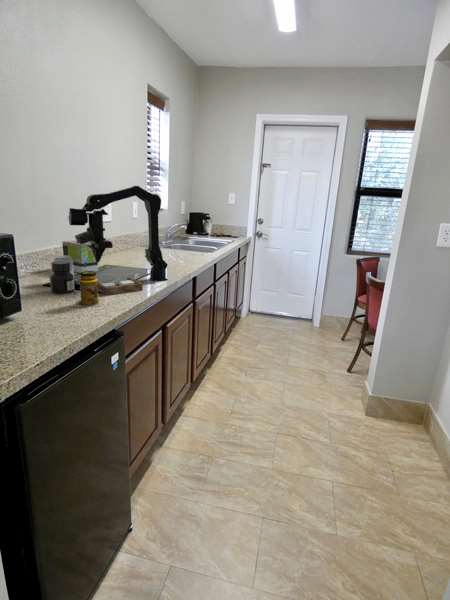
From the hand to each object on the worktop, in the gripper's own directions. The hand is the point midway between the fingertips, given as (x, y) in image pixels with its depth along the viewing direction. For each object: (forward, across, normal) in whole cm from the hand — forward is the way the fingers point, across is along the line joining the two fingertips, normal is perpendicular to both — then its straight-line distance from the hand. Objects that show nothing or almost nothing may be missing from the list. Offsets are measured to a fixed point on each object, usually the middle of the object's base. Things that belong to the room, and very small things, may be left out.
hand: (97, 262), depth 152 cm
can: (+10, -10, -11) cm, 18 cm away
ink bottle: (+10, +3, -16) cm, 19 cm away
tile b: (+10, +11, 0) cm, 15 cm away
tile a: (+10, +11, +8) cm, 17 cm away
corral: (+10, +11, +4) cm, 16 cm away
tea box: (+10, -32, +4) cm, 34 cm away
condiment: (+11, +24, -14) cm, 30 cm away
